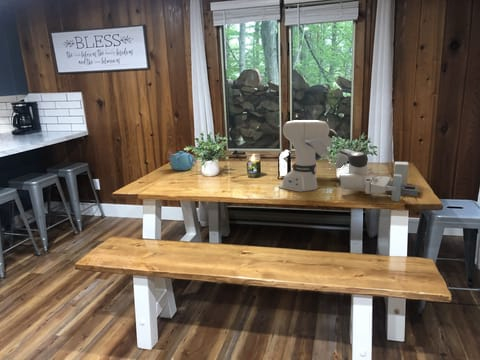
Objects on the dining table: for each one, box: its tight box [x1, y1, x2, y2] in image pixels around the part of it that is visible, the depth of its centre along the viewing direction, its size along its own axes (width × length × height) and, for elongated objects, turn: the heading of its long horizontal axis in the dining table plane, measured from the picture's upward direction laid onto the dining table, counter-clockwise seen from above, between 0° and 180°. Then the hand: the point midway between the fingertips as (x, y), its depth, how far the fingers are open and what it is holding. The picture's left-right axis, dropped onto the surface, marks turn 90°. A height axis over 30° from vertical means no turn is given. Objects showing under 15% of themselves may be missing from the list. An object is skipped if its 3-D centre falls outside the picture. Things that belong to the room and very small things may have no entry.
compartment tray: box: [384, 184, 420, 198], centre depth 210 cm, size 22×10×3 cm, turn 61°
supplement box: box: [393, 161, 409, 185], centre depth 222 cm, size 7×7×13 cm
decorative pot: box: [168, 150, 196, 172], centre depth 280 cm, size 16×16×14 cm
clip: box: [391, 173, 402, 202], centre depth 196 cm, size 4×4×13 cm
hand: (397, 185), depth 196 cm, fingers open, 8 cm apart
